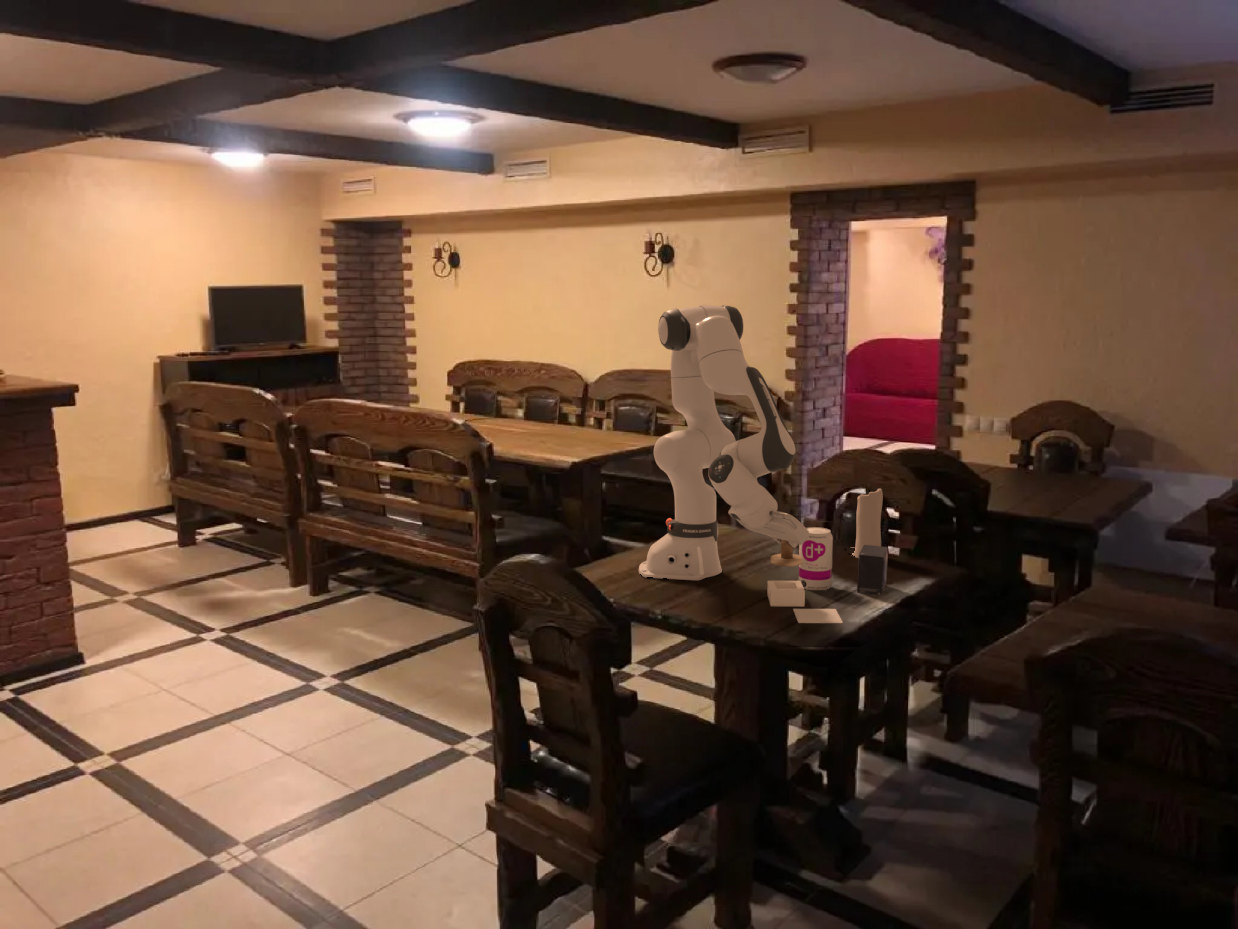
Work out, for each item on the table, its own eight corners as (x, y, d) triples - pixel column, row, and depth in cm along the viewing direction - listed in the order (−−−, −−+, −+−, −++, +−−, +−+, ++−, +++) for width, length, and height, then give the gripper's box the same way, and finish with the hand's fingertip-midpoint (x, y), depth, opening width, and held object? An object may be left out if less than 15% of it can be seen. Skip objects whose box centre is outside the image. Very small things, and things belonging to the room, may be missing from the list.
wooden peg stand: (772, 566, 235) (772, 531, 234) (769, 558, 243) (769, 524, 241) (804, 566, 235) (805, 531, 233) (800, 558, 242) (800, 524, 241)
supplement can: (825, 594, 247) (827, 535, 245) (794, 589, 251) (795, 532, 249) (835, 585, 254) (837, 528, 252) (804, 581, 258) (805, 525, 256)
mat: (798, 625, 225) (798, 622, 225) (792, 611, 235) (792, 608, 234) (842, 625, 224) (843, 622, 224) (835, 611, 234) (835, 608, 234)
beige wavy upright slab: (858, 547, 292) (860, 480, 289) (885, 558, 279) (888, 489, 276) (837, 549, 290) (839, 482, 286) (863, 561, 277) (865, 491, 273)
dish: (770, 608, 237) (771, 590, 236) (767, 598, 245) (767, 580, 244) (804, 608, 236) (804, 590, 236) (800, 598, 244) (800, 580, 244)
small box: (883, 597, 244) (884, 556, 242) (856, 595, 247) (857, 554, 245) (887, 585, 254) (888, 545, 252) (861, 583, 256) (862, 544, 254)
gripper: (795, 505, 224) (826, 541, 230) (737, 491, 241) (768, 525, 247) (780, 527, 222) (812, 563, 229) (723, 512, 239) (754, 545, 246)
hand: (789, 543), depth 238 cm, fingers closed on wooden peg stand, 3 cm apart
